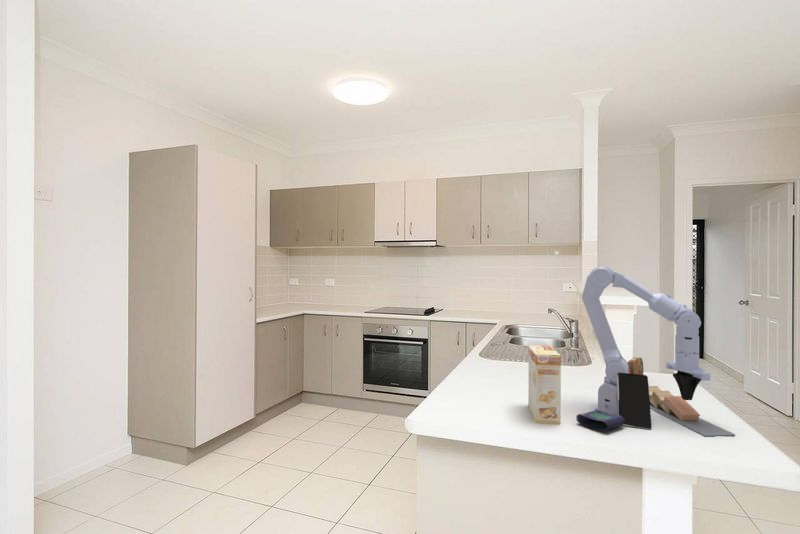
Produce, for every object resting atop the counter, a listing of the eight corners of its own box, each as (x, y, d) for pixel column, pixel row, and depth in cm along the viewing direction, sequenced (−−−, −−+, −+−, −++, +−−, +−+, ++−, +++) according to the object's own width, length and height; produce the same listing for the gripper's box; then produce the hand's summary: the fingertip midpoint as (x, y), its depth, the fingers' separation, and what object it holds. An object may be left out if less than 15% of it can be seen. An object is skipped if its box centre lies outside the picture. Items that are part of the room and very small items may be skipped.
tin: (634, 385, 160) (634, 362, 160) (625, 383, 162) (625, 361, 162) (644, 377, 171) (644, 356, 171) (635, 376, 173) (635, 355, 173)
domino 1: (673, 402, 132) (657, 385, 140) (657, 403, 132) (642, 386, 139) (671, 407, 133) (655, 390, 141) (656, 408, 133) (640, 391, 140)
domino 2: (686, 408, 127) (668, 390, 135) (669, 408, 127) (653, 391, 134) (684, 413, 128) (666, 395, 135) (668, 414, 128) (651, 396, 135)
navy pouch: (575, 413, 120) (598, 408, 126) (575, 423, 120) (598, 418, 126) (607, 421, 112) (629, 416, 118) (607, 433, 112) (629, 426, 118)
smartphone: (618, 424, 119) (616, 372, 126) (618, 425, 120) (616, 373, 127) (652, 428, 116) (648, 375, 123) (651, 430, 117) (647, 376, 124)
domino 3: (699, 414, 122) (680, 395, 129) (683, 415, 122) (665, 396, 129) (697, 420, 123) (679, 401, 130) (681, 420, 122) (663, 401, 130)
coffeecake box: (561, 425, 120) (561, 355, 120) (534, 424, 121) (534, 354, 121) (551, 408, 134) (551, 345, 134) (527, 406, 136) (527, 344, 135)
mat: (735, 436, 112) (735, 434, 112) (704, 437, 112) (704, 435, 112) (650, 396, 146) (650, 395, 146) (626, 397, 145) (626, 396, 145)
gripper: (721, 356, 117) (720, 407, 117) (681, 346, 131) (681, 391, 131) (696, 357, 116) (696, 408, 116) (659, 347, 130) (659, 392, 130)
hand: (687, 399), depth 123 cm, fingers closed
